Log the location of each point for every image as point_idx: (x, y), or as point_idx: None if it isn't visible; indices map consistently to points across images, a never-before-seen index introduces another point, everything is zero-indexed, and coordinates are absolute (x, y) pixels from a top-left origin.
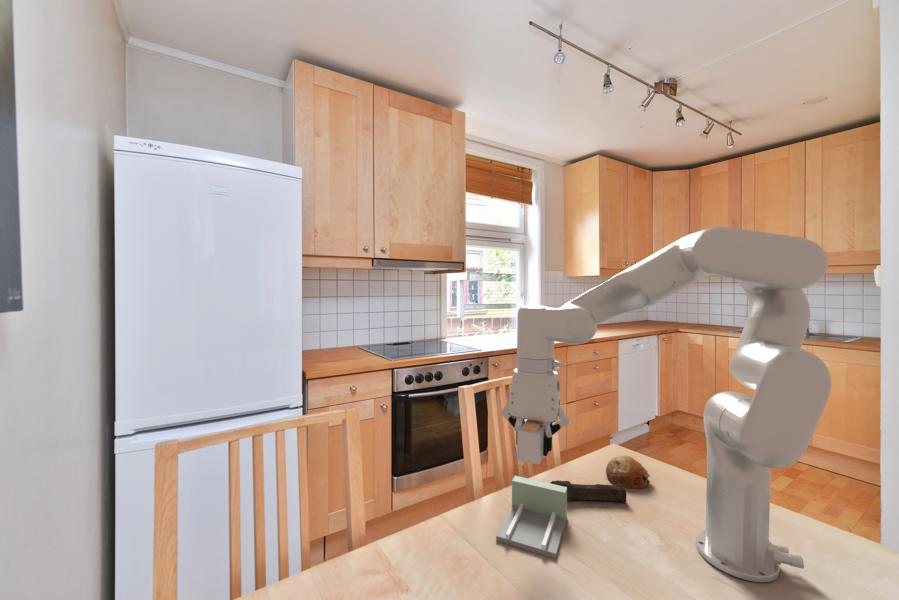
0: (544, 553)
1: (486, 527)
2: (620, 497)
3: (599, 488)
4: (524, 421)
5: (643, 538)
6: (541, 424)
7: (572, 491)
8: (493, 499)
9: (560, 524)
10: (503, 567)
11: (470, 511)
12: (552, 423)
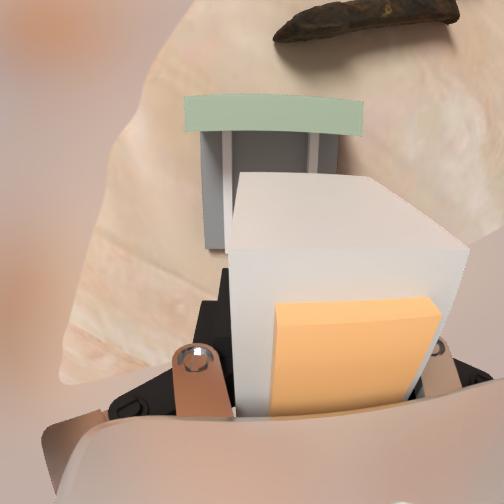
0: None
1: (172, 215)
2: (442, 19)
3: (411, 11)
4: (238, 416)
5: (467, 131)
6: None
7: (349, 28)
8: (144, 106)
9: (330, 153)
10: None
11: (118, 179)
12: (457, 385)
